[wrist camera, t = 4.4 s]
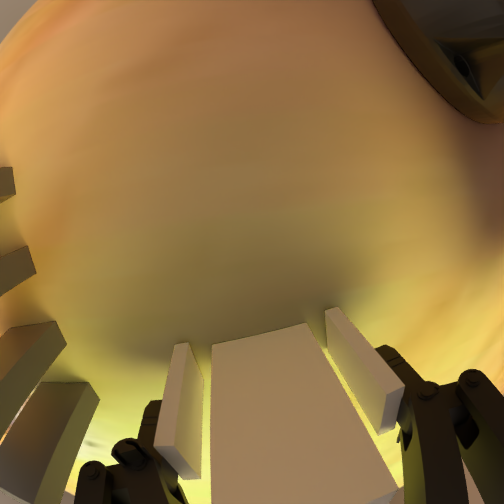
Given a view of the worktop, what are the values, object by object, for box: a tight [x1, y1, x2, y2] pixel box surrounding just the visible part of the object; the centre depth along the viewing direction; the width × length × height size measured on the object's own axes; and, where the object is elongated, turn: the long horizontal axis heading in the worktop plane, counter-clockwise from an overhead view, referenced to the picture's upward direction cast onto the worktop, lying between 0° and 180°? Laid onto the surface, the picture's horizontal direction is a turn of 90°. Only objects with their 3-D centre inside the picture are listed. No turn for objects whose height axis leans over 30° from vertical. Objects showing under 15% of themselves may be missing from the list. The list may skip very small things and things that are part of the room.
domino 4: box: [0, 382, 100, 504], centre depth 9 cm, size 2×5×10 cm, turn 101°
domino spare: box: [210, 323, 399, 504], centre depth 9 cm, size 2×5×10 cm, turn 102°
